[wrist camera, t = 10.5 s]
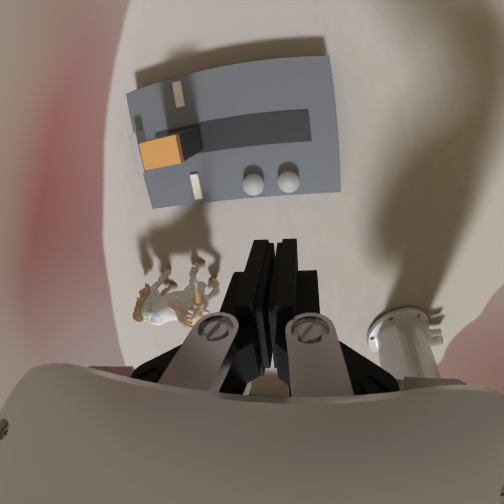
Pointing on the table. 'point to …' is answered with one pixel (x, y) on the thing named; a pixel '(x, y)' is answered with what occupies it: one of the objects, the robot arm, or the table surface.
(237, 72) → the console
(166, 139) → the fader knob
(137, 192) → the table surface
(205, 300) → the unicorn figurine
